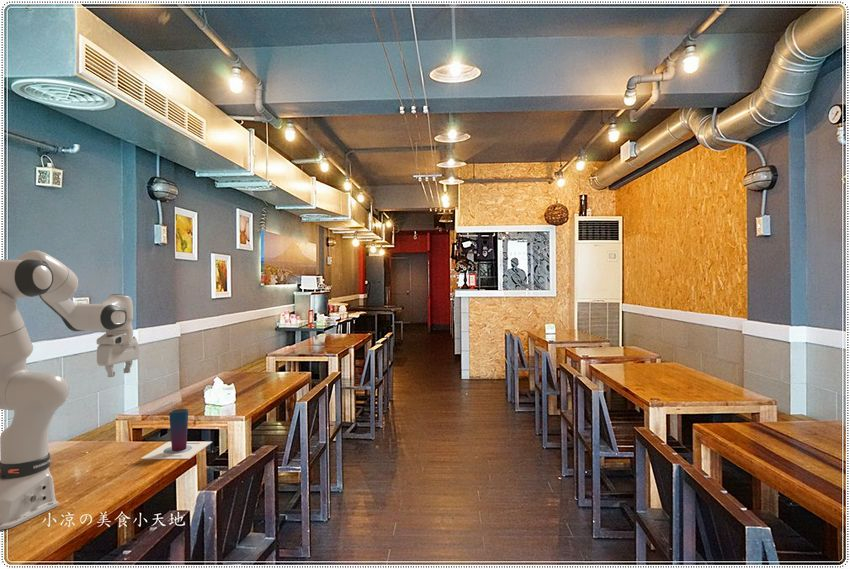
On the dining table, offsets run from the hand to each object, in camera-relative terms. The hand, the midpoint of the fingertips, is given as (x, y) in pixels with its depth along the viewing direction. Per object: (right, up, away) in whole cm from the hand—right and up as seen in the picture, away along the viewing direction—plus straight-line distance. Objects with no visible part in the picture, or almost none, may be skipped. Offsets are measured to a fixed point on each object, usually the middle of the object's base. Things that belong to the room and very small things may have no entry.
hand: (119, 374), depth 192 cm
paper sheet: (+18, -31, +7) cm, 36 cm away
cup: (+19, -30, +7) cm, 36 cm away
